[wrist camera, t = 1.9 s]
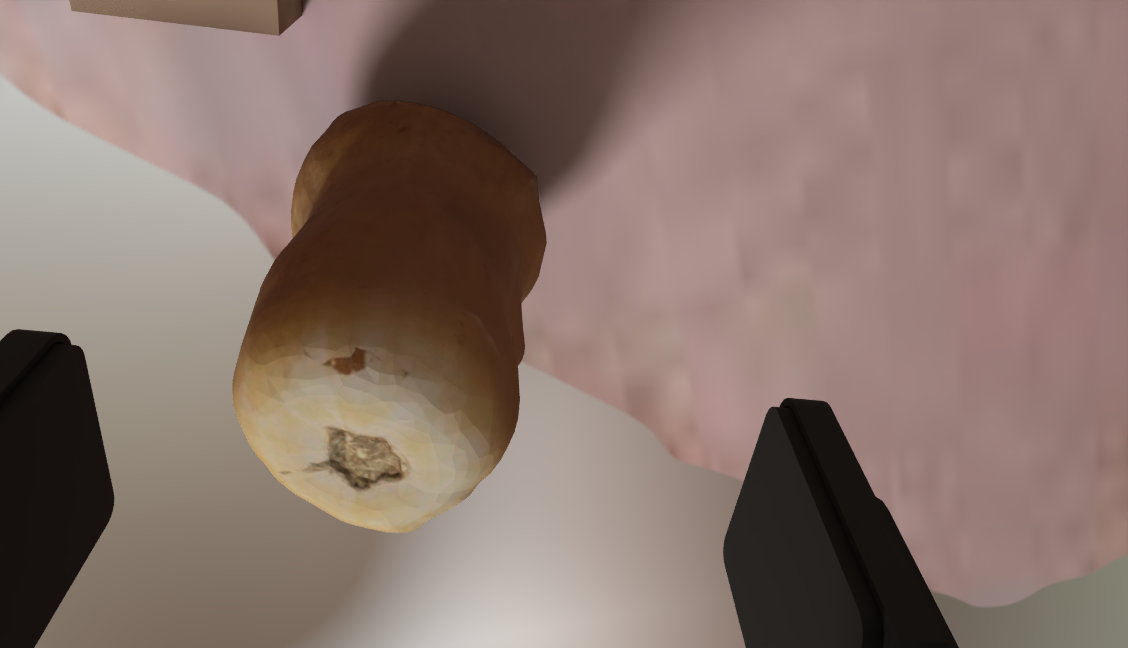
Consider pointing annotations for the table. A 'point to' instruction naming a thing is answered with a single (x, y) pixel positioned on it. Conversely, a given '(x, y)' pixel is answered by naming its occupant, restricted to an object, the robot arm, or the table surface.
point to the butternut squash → (393, 318)
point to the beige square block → (203, 12)
